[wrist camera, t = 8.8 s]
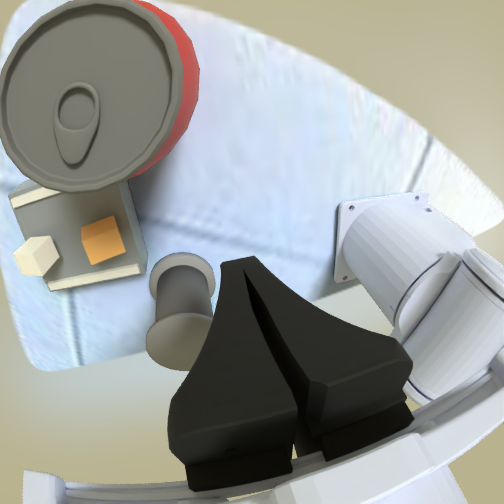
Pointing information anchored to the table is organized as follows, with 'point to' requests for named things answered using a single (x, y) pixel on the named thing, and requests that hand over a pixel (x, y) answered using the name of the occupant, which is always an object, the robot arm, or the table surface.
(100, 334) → the table surface
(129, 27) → the beer can
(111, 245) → the orange cube
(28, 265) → the cream cube
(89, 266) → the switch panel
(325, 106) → the table surface
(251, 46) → the table surface
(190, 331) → the cord spool
